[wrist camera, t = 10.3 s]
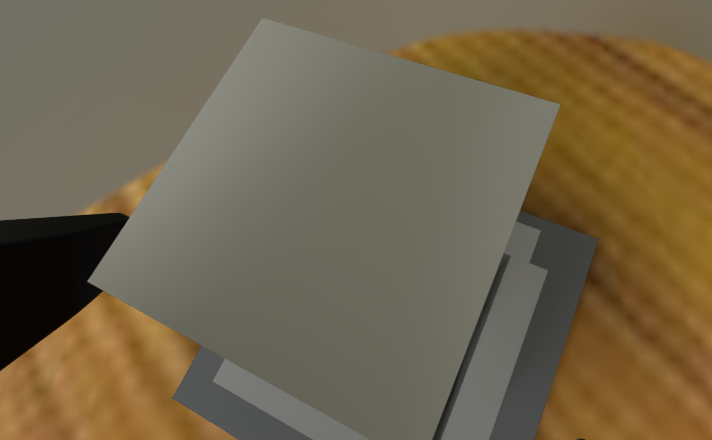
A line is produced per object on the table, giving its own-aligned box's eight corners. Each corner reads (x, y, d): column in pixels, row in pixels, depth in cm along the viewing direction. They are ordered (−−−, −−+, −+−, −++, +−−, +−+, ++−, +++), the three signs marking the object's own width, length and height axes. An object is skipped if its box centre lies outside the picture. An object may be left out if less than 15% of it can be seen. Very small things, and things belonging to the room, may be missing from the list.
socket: (480, 574, 15) (508, 659, 10) (187, 396, 18) (114, 403, 14) (587, 247, 18) (642, 206, 14) (323, 149, 21) (301, 91, 17)
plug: (415, 399, 16) (421, 468, 4) (311, 346, 17) (86, 282, 5) (459, 291, 17) (560, 104, 5) (359, 248, 18) (262, 18, 6)
